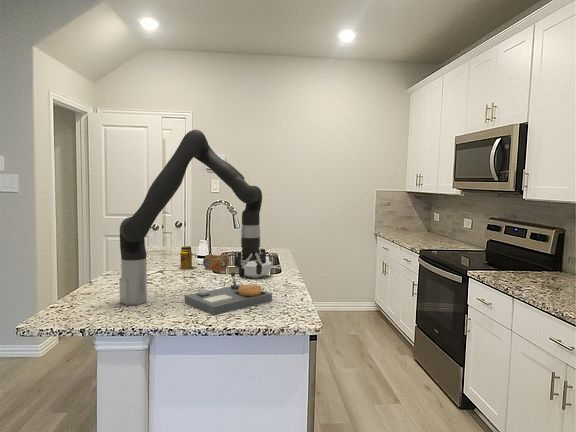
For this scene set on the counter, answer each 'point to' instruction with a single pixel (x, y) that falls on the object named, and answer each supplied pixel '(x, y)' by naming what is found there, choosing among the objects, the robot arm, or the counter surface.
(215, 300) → the key
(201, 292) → the grey button
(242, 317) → the counter surface
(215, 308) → the control panel
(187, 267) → the condiment
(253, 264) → the cereal bowl
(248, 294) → the orange button
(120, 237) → the robot arm
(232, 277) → the toggle lever
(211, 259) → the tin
